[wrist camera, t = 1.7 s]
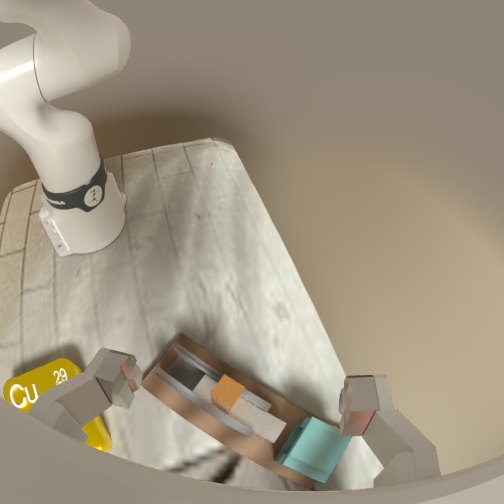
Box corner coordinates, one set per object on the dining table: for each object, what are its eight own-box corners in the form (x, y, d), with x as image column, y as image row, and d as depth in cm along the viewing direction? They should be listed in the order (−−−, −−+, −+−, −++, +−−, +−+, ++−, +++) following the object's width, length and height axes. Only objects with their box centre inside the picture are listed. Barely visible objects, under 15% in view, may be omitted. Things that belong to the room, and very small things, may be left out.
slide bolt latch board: (142, 386, 37) (128, 375, 31) (182, 336, 43) (176, 317, 37) (307, 487, 31) (325, 496, 25) (341, 431, 36) (363, 429, 30)
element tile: (44, 472, 26) (28, 473, 22) (14, 388, 33) (-2, 381, 29) (118, 449, 32) (106, 450, 28) (80, 361, 38) (67, 352, 34)
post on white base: (193, 394, 36) (184, 379, 26) (206, 378, 37) (202, 355, 28) (270, 442, 33) (291, 445, 23) (281, 424, 34) (307, 419, 25)
